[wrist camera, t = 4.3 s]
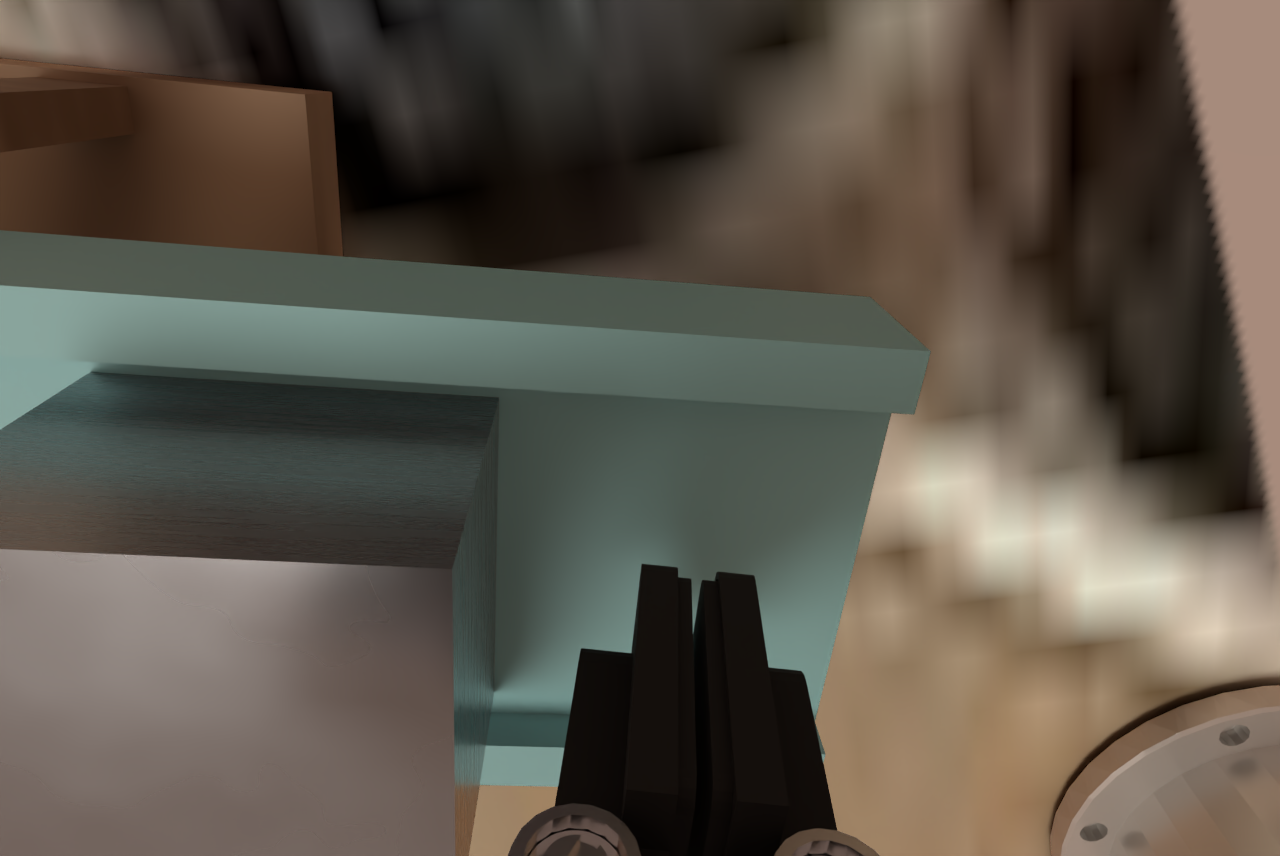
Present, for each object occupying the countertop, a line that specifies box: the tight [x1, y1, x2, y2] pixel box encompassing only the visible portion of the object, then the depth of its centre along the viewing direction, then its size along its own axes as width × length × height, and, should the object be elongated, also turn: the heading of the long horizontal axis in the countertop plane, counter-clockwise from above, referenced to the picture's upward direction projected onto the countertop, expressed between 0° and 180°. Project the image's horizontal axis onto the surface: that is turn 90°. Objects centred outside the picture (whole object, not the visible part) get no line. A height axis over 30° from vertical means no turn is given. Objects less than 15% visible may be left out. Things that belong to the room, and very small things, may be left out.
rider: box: [0, 372, 499, 856], centre depth 11 cm, size 6×6×4 cm
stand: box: [0, 58, 343, 256], centre depth 18 cm, size 10×13×9 cm
